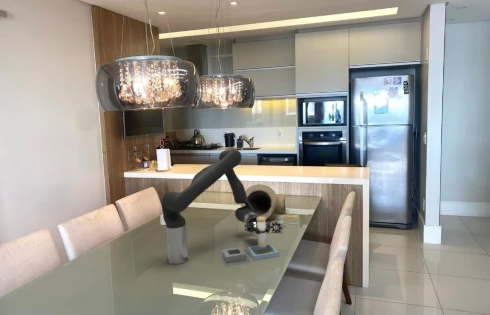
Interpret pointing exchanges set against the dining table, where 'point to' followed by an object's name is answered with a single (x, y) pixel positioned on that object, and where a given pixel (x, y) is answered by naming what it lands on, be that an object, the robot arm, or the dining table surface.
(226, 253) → the block
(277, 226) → the valve
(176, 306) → the dining table surface
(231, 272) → the dining table surface
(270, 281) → the dining table surface
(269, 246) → the parts tray
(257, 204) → the pipe
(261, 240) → the capped white cylinder
